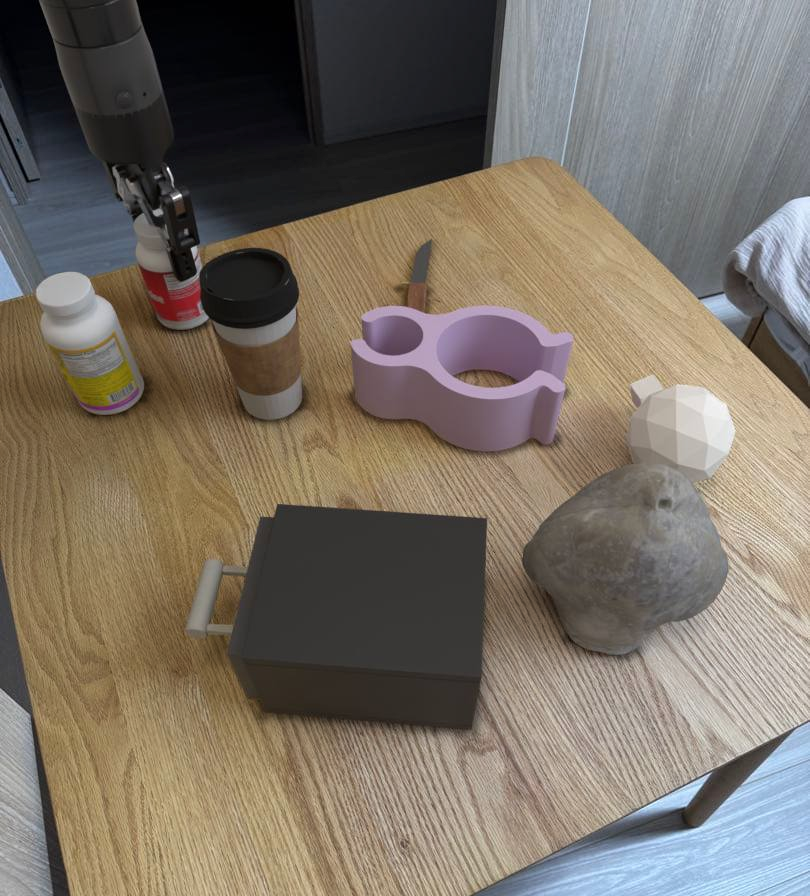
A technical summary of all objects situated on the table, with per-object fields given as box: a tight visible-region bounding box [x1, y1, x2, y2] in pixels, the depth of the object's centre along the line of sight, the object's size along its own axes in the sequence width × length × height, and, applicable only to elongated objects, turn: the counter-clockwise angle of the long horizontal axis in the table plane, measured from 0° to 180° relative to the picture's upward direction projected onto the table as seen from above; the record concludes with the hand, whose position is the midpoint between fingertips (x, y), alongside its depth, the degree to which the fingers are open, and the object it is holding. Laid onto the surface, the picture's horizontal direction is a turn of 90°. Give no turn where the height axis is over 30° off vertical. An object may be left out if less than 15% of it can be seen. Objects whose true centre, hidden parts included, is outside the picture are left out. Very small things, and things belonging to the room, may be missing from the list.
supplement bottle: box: [35, 271, 145, 416], centre depth 70 cm, size 7×7×13 cm
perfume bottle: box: [625, 373, 737, 484], centre depth 67 cm, size 9×9×12 cm
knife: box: [400, 238, 433, 313], centre depth 84 cm, size 17×1×3 cm
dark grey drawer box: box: [242, 503, 488, 731], centre depth 56 cm, size 16×13×10 cm
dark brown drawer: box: [184, 516, 274, 701], centre depth 56 cm, size 19×11×8 cm, turn 85°
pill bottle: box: [133, 209, 210, 331], centre depth 78 cm, size 6×6×11 cm
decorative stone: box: [521, 463, 730, 656], centre depth 56 cm, size 15×10×15 cm
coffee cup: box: [199, 247, 303, 421], centre depth 69 cm, size 8×8×15 cm
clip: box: [350, 304, 575, 452], centre depth 72 cm, size 20×12×7 cm, turn 77°
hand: (169, 260), depth 77 cm, fingers closed on pill bottle, 6 cm apart
